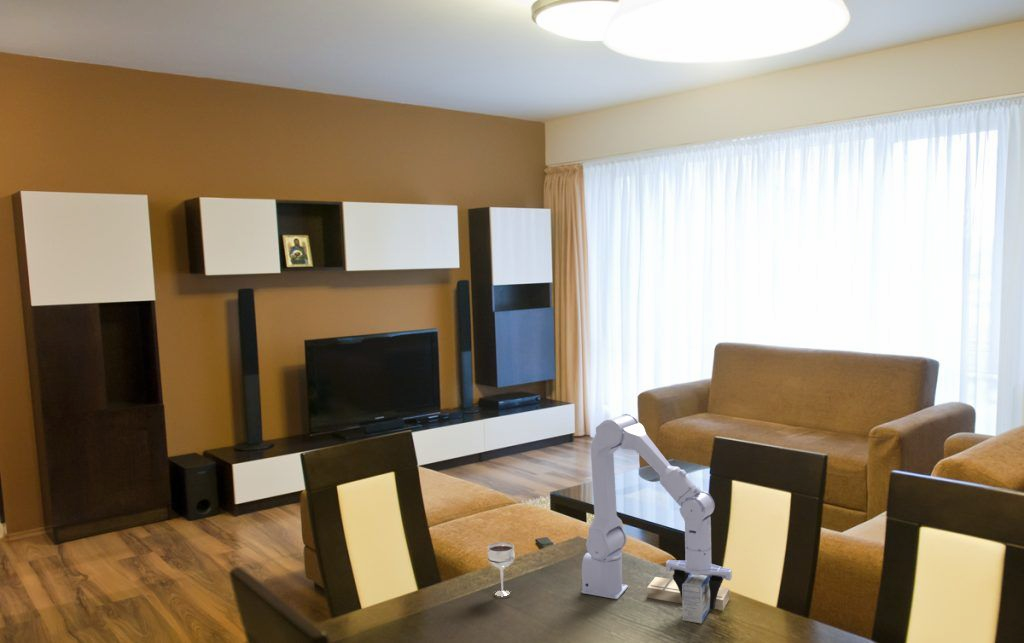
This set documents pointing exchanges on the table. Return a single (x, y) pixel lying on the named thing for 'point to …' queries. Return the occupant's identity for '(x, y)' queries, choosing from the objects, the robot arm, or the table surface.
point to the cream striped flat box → (670, 592)
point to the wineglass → (501, 560)
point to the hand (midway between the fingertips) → (699, 605)
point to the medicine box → (696, 598)
